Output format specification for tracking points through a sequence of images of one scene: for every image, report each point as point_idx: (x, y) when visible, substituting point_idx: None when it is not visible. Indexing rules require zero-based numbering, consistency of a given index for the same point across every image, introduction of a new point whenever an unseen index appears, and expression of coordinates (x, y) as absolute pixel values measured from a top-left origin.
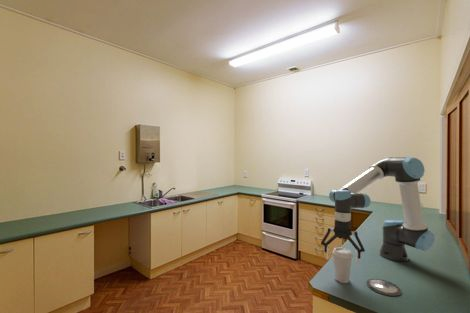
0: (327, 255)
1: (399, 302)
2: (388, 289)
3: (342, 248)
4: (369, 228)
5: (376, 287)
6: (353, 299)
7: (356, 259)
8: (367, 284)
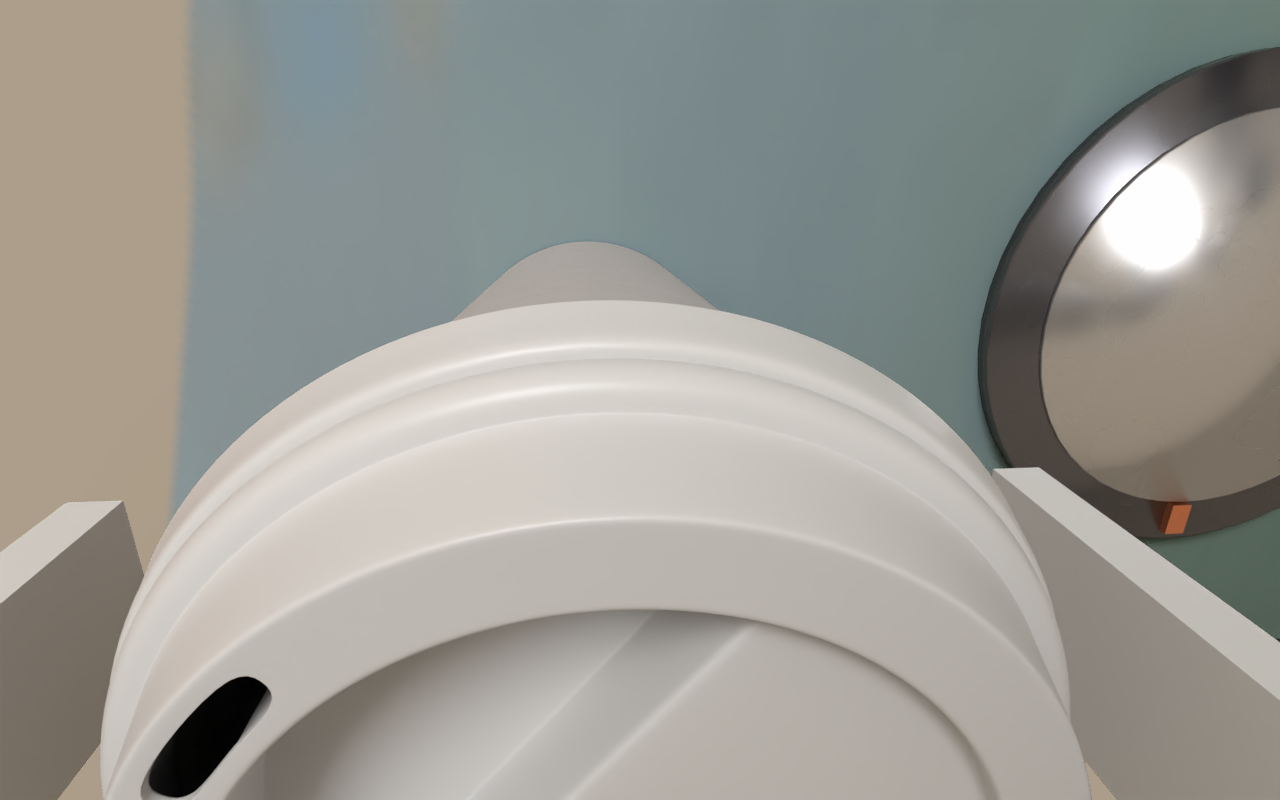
0: (46, 775)
1: (1245, 610)
2: (1267, 405)
3: (626, 599)
4: None
5: (1103, 431)
6: None
7: (1090, 749)
8: (991, 382)
